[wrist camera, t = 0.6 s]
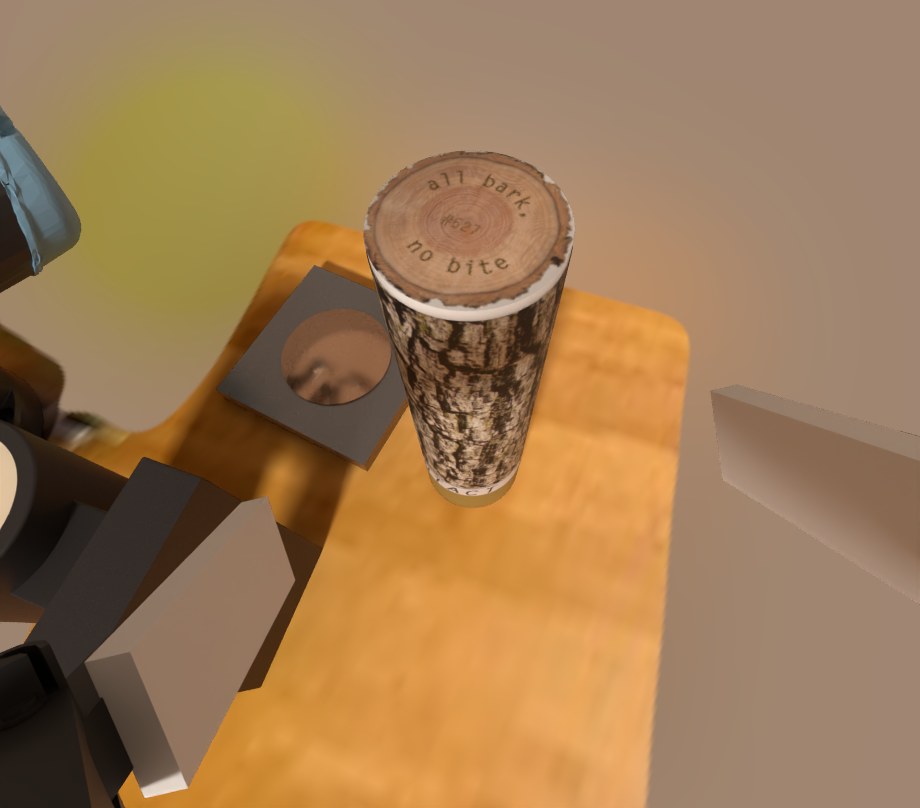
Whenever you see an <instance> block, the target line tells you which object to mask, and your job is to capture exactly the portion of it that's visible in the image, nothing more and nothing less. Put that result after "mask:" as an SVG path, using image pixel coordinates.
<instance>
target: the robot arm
mask: <svg viewBox="0 0 920 808" xmlns="http://www.w3.org/2000/svg"><path fill="white" fill-rule="evenodd" d="M80 232H81V223H80V219H79V217H78V215H77V213H76V211H75V209H74V207H73V206H72V205H71V203H70V201H69V200H68V198H67V197H66V195H65V194H64V192H63V191H62V189H61V188H60V186H59V185H58V183H57V182H56V181H55V179H54V178H53V176H52V175H51V173H50V172H49V171H48V169H47V168H46V166H45V165H44V164H43V162H42V161H41V159H40V158H39V157H38V155H37V154H36V153H35V151H34V150H33V149H32V147H31V146H30V145H29V143H28V142H27V141H26V139H25V138H24V137H23V136H22V134H21V133H20V132H19V131H18V130H17V129H16V128H15V127H14V126H13V123H12V121H11V120H10V118H9V117H8V116H7V115H6V113H5V112H4V111H3V110H2V108H1V106H0V293H1V292H3V291H4V290H6V289H8V288H10V287H11V286H13V285H15V284H17V283H18V282H20V281H22V280H24V279H25V278H27V277H29V276H36V275H38V274H39V272H41V271H42V269H43V266H45V265H46V264H48V263H49V262H51V261H52V260H54V259H55V258H57V257H58V256H60V255H62V254H63V253H65V252H66V251H68V250H69V249H71V248H72V247H73V246H74V245H75V244H76V243H77V242H78V240H79V237H80ZM711 398H712V406H713V413H714V421H715V428H716V436H717V443H718V450H719V458H720V465H721V473H722V479H723V480H724V481H726V482H727V483H729V484H731V485H732V486H734V487H735V488H737V489H738V490H740V491H741V492H743V493H745V494H746V495H748V496H749V497H751V498H752V499H754V500H756V501H757V502H759V503H760V504H762V505H763V506H765V507H767V508H768V509H770V510H772V511H773V512H775V513H776V514H778V515H779V516H781V517H783V518H784V519H786V520H787V521H789V522H791V523H792V524H794V525H795V526H797V527H798V528H800V529H801V530H803V531H805V532H806V533H808V534H809V535H811V536H813V537H814V538H816V539H817V540H819V541H820V542H822V543H823V544H825V545H827V546H828V547H830V548H831V549H833V550H834V551H836V552H838V553H839V554H841V555H843V556H844V557H846V558H847V559H849V560H850V561H852V562H853V563H855V564H857V565H858V566H860V567H862V568H863V569H865V570H866V571H868V572H869V573H871V574H872V575H874V576H876V577H877V578H879V579H880V580H882V581H884V582H885V583H887V584H888V585H890V586H891V587H893V588H895V589H896V590H898V591H899V592H901V593H903V594H904V595H906V596H907V597H909V598H910V599H912V600H913V601H915V602H917V603H918V604H920V436H917V435H913V434H910V433H906V432H902V431H898V430H894V429H891V428H887V427H884V426H880V425H877V424H873V423H870V422H866V421H863V420H859V419H856V418H852V417H848V416H845V415H841V414H838V413H834V412H831V411H827V410H824V409H820V408H817V407H813V406H810V405H806V404H803V403H799V402H795V401H792V400H789V399H785V398H782V397H778V396H775V395H771V394H768V393H764V392H760V391H757V390H753V389H750V388H746V387H743V386H739V385H733V386H729V387H725V388H721V389H716V390H712V391H711ZM0 420H2V421H5V422H7V423H10V424H12V425H14V426H16V427H18V428H20V429H22V430H25V431H27V432H29V433H31V434H33V435H35V436H38V437H40V438H41V436H42V430H43V414H42V408H41V404H40V402H39V399H38V397H37V395H36V393H35V392H34V390H33V389H32V388H31V387H30V386H29V385H28V384H27V383H26V382H25V381H24V380H22V379H21V378H19V377H18V376H16V375H14V374H12V373H11V372H9V371H7V370H5V369H4V368H2V367H0ZM294 582H295V578H294V575H293V572H292V569H291V566H290V563H289V560H288V557H287V554H286V551H285V548H284V545H283V542H282V539H281V536H280V533H279V530H278V527H277V524H276V521H275V518H274V515H273V512H272V509H271V506H270V503H269V500H268V497H267V496H266V497H262V498H258V499H253V500H249V501H245V502H241V503H240V504H239V505H238V506H237V507H236V508H235V510H234V511H233V512H232V513H231V514H230V515H229V516H228V517H227V518H226V519H225V520H224V521H223V522H222V523H221V524H220V525H219V526H218V527H217V528H216V529H215V530H214V531H213V532H212V533H211V534H210V535H209V536H208V537H207V538H206V539H205V540H204V541H203V542H202V543H201V544H200V545H199V546H198V547H197V548H196V549H195V550H194V551H193V552H192V553H191V554H190V555H189V556H188V557H187V558H186V559H185V560H184V561H183V562H182V563H181V564H180V565H179V566H178V568H177V569H176V570H175V571H174V572H173V573H172V574H171V575H170V576H169V577H168V578H167V579H166V580H165V581H164V582H163V583H162V584H161V585H160V586H159V587H158V588H157V589H156V590H155V591H154V592H153V593H152V594H151V595H150V596H149V597H148V598H147V599H146V600H145V601H144V602H143V603H142V604H141V605H140V606H139V607H138V608H137V609H136V610H135V611H134V612H132V613H131V614H129V615H128V616H127V617H126V618H125V619H124V620H123V621H122V622H121V623H120V624H119V625H118V626H117V627H116V628H115V629H114V630H113V634H109V635H108V636H107V637H106V638H105V639H104V640H103V641H102V642H101V643H100V644H99V645H100V647H98V648H95V650H94V651H93V652H92V653H91V654H90V655H89V656H88V657H87V658H86V659H85V660H84V661H83V662H82V663H81V664H80V665H79V666H78V667H77V668H76V669H75V670H74V671H73V672H72V673H71V674H70V675H69V676H68V677H67V678H65V676H64V674H63V672H62V670H61V667H60V665H59V663H58V661H57V659H56V656H55V654H54V652H53V650H52V648H51V646H50V644H49V643H48V642H47V641H46V640H38V641H32V642H28V643H25V644H21V645H18V646H16V647H13V648H11V649H9V650H6V651H4V652H1V653H0V808H125V807H124V804H123V802H122V800H121V798H120V796H119V794H118V791H119V789H120V788H121V786H122V785H123V783H124V782H125V780H126V779H127V777H128V776H129V774H130V773H131V771H133V773H134V775H135V777H136V780H137V782H138V784H139V786H140V789H141V791H142V793H143V795H144V797H145V798H148V797H152V796H156V795H161V794H165V793H169V792H174V791H178V790H182V789H186V788H188V787H189V785H190V783H191V781H192V779H193V777H194V775H195V773H196V771H197V769H198V767H199V766H200V764H201V762H202V760H203V758H204V756H205V754H206V752H207V750H208V748H209V746H210V744H211V742H212V740H213V738H214V737H215V735H216V733H217V731H218V729H219V727H220V725H221V723H222V721H223V719H224V717H225V715H226V713H227V711H228V709H229V708H230V706H231V704H232V702H233V700H234V698H235V696H236V694H237V692H238V690H239V688H240V686H241V684H242V682H243V680H244V679H245V677H246V675H247V673H248V671H249V669H250V667H251V665H252V663H253V661H254V659H255V657H256V655H257V653H258V651H259V649H260V648H261V646H262V644H263V642H264V640H265V638H266V636H267V634H268V632H269V630H270V628H271V626H272V624H273V622H274V620H275V619H276V617H277V615H278V613H279V611H280V609H281V607H282V605H283V603H284V601H285V599H286V597H287V595H288V593H289V591H290V590H291V588H292V586H293V584H294Z"/></svg>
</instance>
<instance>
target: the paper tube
mask: <svg viewBox="0 0 920 808" xmlns="http://www.w3.org/2000/svg"><path fill="white" fill-rule="evenodd" d="M574 233H575V225H574V217H573V213H572V210H571V207H570V205H569V202H568V200H567V199H566V197H565V195H564V194H563V192H562V191H561V189H560V188H559V187H558V186H557V185H556V183H555V182H554V181H553V180H551V179H550V178H549V177H548V176H547V175H546V174H544V173H543V172H542V171H540V170H539V169H537V168H535V167H534V166H532V165H530V164H528V163H526V162H524V161H521V160H519V159H516V158H513V157H510V156H507V155H503V154H499V153H493V152H486V151H456V152H449V153H444V154H439V155H435V156H432V157H429V158H426V159H423V160H421V161H418V162H416V163H414V164H412V165H410V166H408V167H406V168H405V169H403V170H401V171H400V172H398V173H397V174H396V175H395V176H393V177H392V178H391V179H390V180H389V181H387V182H386V183H385V184H384V185H383V187H382V188H381V189H380V190H379V191H378V193H377V194H376V195H375V197H374V199H373V200H372V202H371V204H370V206H369V208H368V211H367V214H366V217H365V223H364V243H365V247H366V253H367V258H368V261H369V265H370V269H371V272H372V276H373V279H374V283H375V286H376V290H377V293H378V297H379V300H380V304H381V308H382V311H383V315H384V318H385V322H386V325H387V329H388V332H389V336H390V339H391V343H392V346H393V350H394V354H395V357H396V361H397V364H398V368H399V371H400V375H401V378H402V382H403V385H404V389H405V393H406V396H407V400H408V403H409V407H410V410H411V414H412V417H413V421H414V424H415V428H416V431H417V435H418V439H419V442H420V446H421V449H422V453H423V456H424V458H425V459H424V460H425V463H426V466H427V469H428V473H429V476H430V479H431V482H432V484H433V486H434V487H435V489H436V490H437V491H438V492H439V494H441V495H442V496H443V497H444V498H445V499H446V500H448V501H450V502H451V503H453V504H456V505H458V506H462V507H468V508H478V507H484V506H487V505H490V504H492V503H494V502H496V501H498V500H499V499H500V498H502V497H503V496H504V495H505V494H506V493H507V492H508V490H509V489H510V488H511V486H512V484H513V482H514V480H515V477H516V474H517V470H518V466H519V463H520V459H521V455H522V451H523V447H524V443H525V439H526V435H527V431H528V427H529V423H530V419H531V415H532V411H533V407H534V403H535V399H536V395H537V391H538V387H539V383H540V379H541V375H542V371H543V367H544V363H545V359H546V355H547V351H548V347H549V343H550V339H551V335H552V331H553V327H554V323H555V318H556V314H557V310H558V306H559V302H560V298H561V294H562V290H563V286H564V282H565V278H566V274H567V270H568V266H569V262H570V258H571V253H572V248H573V241H574Z"/></svg>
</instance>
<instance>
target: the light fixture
mask: <svg viewBox="0 0 920 808" xmlns="http://www.w3.org/2000/svg"><path fill="white" fill-rule="evenodd" d="M241 502H242V501H241V500H239V499H237V498H236V497H234V496H232V495H231V494H229V493H227V492H226V491H224V490H222V489H221V488H219V487H217V486H215V485H214V484H212V483H210V482H209V481H207V480H205V479H204V478H201V477H198V476H196V475H193V474H190V473H187V472H185V471H182V470H179V469H176V468H174V467H171V466H168V465H165V464H163V463H160V462H157V461H154V460H152V459H149V458H146V457H143V458H142V459H141V461H140V462H139V464H138V465H137V467H136V468H135V470H134V472H133V473H132V475H131V476H130V478H129V479H128V478H126V477H124V476H121V475H119V474H117V473H115V472H113V471H111V470H108V469H106V468H104V467H102V466H100V465H98V464H96V463H93V462H91V461H89V460H87V459H85V458H83V457H81V456H78V455H76V454H74V453H72V452H70V451H68V450H65V449H63V448H61V447H59V446H57V445H55V444H53V443H50V442H48V441H46V440H44V439H42V438H40V437H38V436H35V435H33V434H31V433H29V432H27V431H25V430H22V429H20V428H18V427H16V426H14V425H12V424H10V423H7V422H5V421H2V420H0V622H25V623H36V625H35V627H34V628H33V630H32V631H31V633H30V634H29V636H28V638H27V639H26V641H25V642H24V644H25V643H28V642H32V641H38V640H46V641H47V642H48V643H49V644H50V646H51V648H52V650H53V652H54V654H55V656H56V659H57V661H58V663H59V665H60V667H61V670H62V672H63V674H64V676H65V678H67V677H68V676H69V675H70V674H71V673H72V672H73V671H74V670H75V669H76V668H77V667H78V666H79V665H80V664H81V663H82V662H83V661H84V660H85V659H86V658H87V657H88V656H89V655H90V654H91V653H92V652H93V651H94V650H95V648H98V647H100V645H99V644H100V643H101V642H102V641H103V640H104V639H105V638H106V637H107V636H108V635H109V634H113V630H114V629H115V628H116V627H117V626H118V625H119V624H120V623H121V622H122V621H123V620H124V619H125V618H126V617H127V616H128V615H129V614H131V613H132V612H134V611H135V610H136V609H137V608H138V607H139V606H140V605H141V604H142V603H143V602H144V601H145V600H146V599H147V598H148V597H149V596H150V595H151V594H152V593H153V592H154V591H155V590H156V589H157V588H158V587H159V586H160V585H161V584H162V583H163V582H164V581H165V580H166V579H167V578H168V577H169V576H170V575H171V574H172V573H173V572H174V571H175V570H176V569H177V568H178V566H179V565H180V564H181V563H182V562H183V561H184V560H185V559H186V558H187V557H188V556H189V555H190V554H191V553H192V552H193V551H194V550H195V549H196V548H197V547H198V546H199V545H200V544H201V543H202V542H203V541H204V540H205V539H206V538H207V537H208V536H209V535H210V534H211V533H212V532H213V531H214V530H215V529H216V528H217V527H218V526H219V525H220V524H221V523H222V522H223V521H224V520H225V519H226V518H227V517H228V516H229V515H230V514H231V513H232V512H233V511H234V510H235V508H236V507H237V506H238V505H239V504H240V503H241ZM276 524H277V527H278V530H279V533H280V536H281V539H282V542H283V545H284V548H285V551H286V554H287V557H288V560H289V563H290V566H291V569H292V572H293V575H294V578H295V582H294V584H293V586H292V588H291V590H290V591H289V593H288V595H287V597H286V599H285V601H284V603H283V605H282V607H281V609H280V611H279V613H278V615H277V617H276V619H275V620H274V622H273V624H272V626H271V628H270V630H269V632H268V634H267V636H266V638H265V640H264V642H263V644H262V646H261V648H260V649H259V651H258V653H257V655H256V657H255V659H254V661H253V663H252V665H251V667H250V669H249V671H248V673H247V675H246V677H245V679H244V680H243V682H242V684H241V686H240V688H239V690H238V692H242V691H246V690H251V689H256V688H260V687H261V686H262V683H263V681H264V679H265V677H266V674H267V672H268V670H269V668H270V666H271V663H272V661H273V659H274V657H275V654H276V652H277V650H278V648H279V646H280V643H281V641H282V639H283V637H284V634H285V632H286V630H287V628H288V625H289V623H290V621H291V619H292V617H293V614H294V612H295V610H296V608H297V605H298V603H299V601H300V599H301V597H302V594H303V592H304V590H305V588H306V585H307V583H308V581H309V579H310V577H311V574H312V572H313V570H314V568H315V565H316V563H317V561H318V559H319V557H320V554H321V552H322V549H321V548H320V547H318V546H316V545H315V544H313V543H311V542H310V541H308V540H306V539H305V538H303V537H301V536H300V535H298V534H296V533H294V532H293V531H291V530H289V529H288V528H286V527H284V526H283V525H281V524H279V523H278V522H276Z"/></svg>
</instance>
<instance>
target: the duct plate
mask: <svg viewBox="0 0 920 808" xmlns="http://www.w3.org/2000/svg"><path fill="white" fill-rule="evenodd" d="M216 390H217V391H218V392H219V393H220V394H221V395H222V396H223V397H224V398H226V399H228V400H230V401H232V402H234V403H236V404H238V405H240V406H242V407H244V408H245V409H247V410H249V411H251V412H253V413H255V414H257V415H259V416H261V417H263V418H265V419H267V420H269V421H271V422H273V423H275V424H277V425H279V426H280V427H282V428H284V429H286V430H288V431H290V432H292V433H294V434H296V435H298V436H300V437H302V438H304V439H306V440H308V441H310V442H312V443H314V444H315V445H317V446H319V447H321V448H323V449H325V450H327V451H329V452H331V453H333V454H335V455H337V456H339V457H341V458H343V459H345V460H347V461H349V462H350V463H352V464H354V465H356V466H358V467H360V468H362V469H364V470H366V471H368V470H369V468H370V467H371V465H372V463H373V462H374V460H375V459H376V457H377V455H378V454H379V452H380V450H381V449H382V447H383V446H384V444H385V442H386V441H387V439H388V437H389V436H390V434H391V432H392V431H393V429H394V428H395V426H396V424H397V423H398V421H399V419H400V418H401V416H402V415H403V413H404V411H405V410H406V408H407V406H408V405H409V403H408V400H407V396H406V393H405V389H404V385H403V382H402V378H401V375H400V371H399V368H398V364H397V361H396V357H395V354H394V350H393V346H392V343H391V339H390V336H389V332H388V329H387V325H386V322H385V318H384V315H383V311H382V308H381V304H380V300H379V297H378V293H377V291H375V290H372V289H370V288H367V287H365V286H363V285H360V284H358V283H356V282H353V281H351V280H348V279H346V278H344V277H341V276H339V275H337V274H334V273H332V272H329V271H327V270H325V269H322V268H320V267H318V266H315V265H314V266H313V268H312V269H311V270H310V272H309V273H308V274H307V275H306V277H305V278H304V279H303V280H302V282H301V283H300V284H299V285H298V287H297V288H296V289H295V290H294V292H293V293H292V294H291V295H290V297H289V298H288V299H287V300H286V302H285V303H284V304H283V306H282V307H281V308H280V309H279V311H278V312H277V313H276V314H275V316H274V317H273V318H272V319H271V321H270V322H269V323H268V324H267V326H266V327H265V328H264V329H263V331H262V332H261V333H260V334H259V336H258V337H257V338H256V340H255V341H254V342H253V343H252V345H251V346H250V347H249V348H248V350H247V351H246V352H245V353H244V355H243V356H242V357H241V358H240V360H239V361H238V362H237V363H236V365H235V366H234V367H233V368H232V370H231V371H230V372H229V374H228V375H227V376H226V377H225V379H224V380H223V381H222V382H221V384H220V385H219V386H218V387H217V389H216Z"/></svg>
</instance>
